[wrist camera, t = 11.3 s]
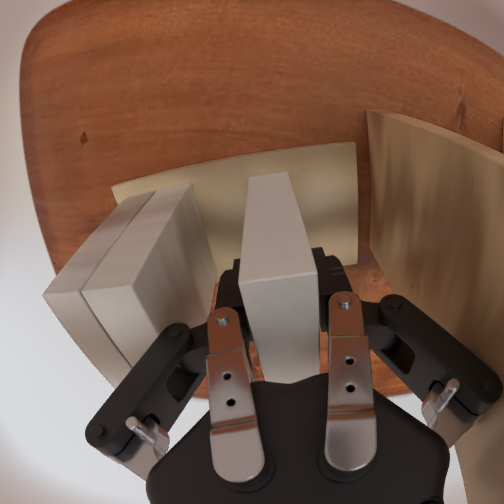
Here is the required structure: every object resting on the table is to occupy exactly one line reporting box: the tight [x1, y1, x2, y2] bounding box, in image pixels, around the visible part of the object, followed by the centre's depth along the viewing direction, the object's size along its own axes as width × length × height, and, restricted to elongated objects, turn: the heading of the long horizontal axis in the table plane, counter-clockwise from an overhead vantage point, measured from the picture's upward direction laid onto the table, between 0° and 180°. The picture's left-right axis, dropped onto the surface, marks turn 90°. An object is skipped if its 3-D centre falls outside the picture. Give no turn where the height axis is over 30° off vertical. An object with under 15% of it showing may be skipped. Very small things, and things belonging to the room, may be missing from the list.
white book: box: [238, 171, 320, 384], centre depth 14 cm, size 7×2×10 cm, turn 10°
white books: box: [43, 141, 358, 394], centre depth 15 cm, size 9×16×10 cm, turn 100°
